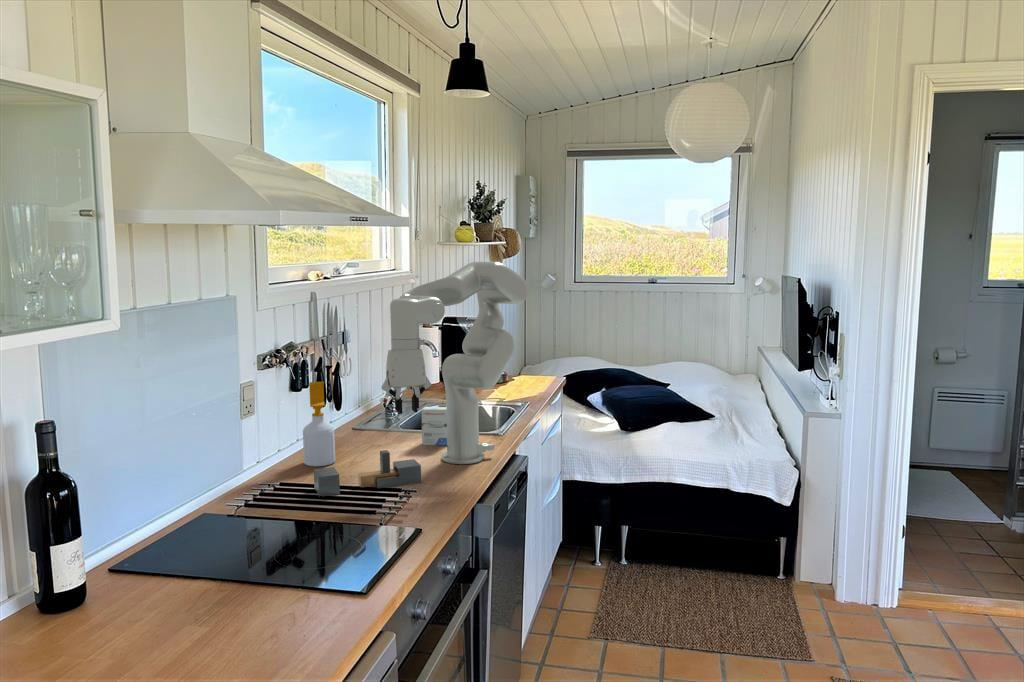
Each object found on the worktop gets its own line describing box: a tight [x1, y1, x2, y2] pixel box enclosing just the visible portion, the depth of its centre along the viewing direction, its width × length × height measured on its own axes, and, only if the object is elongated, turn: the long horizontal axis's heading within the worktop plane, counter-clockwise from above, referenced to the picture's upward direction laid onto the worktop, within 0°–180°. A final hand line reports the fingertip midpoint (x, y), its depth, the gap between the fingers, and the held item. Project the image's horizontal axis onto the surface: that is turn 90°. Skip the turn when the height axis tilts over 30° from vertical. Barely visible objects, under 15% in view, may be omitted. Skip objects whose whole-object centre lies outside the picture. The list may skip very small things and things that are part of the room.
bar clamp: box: [313, 458, 422, 498], centre depth 208 cm, size 27×7×5 cm, turn 113°
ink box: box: [421, 406, 447, 446], centre depth 250 cm, size 8×5×12 cm, turn 84°
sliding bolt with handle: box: [357, 449, 398, 488], centre depth 210 cm, size 16×3×8 cm, turn 113°
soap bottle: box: [302, 381, 336, 468], centre depth 229 cm, size 9×9×25 cm
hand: (407, 411), depth 210 cm, fingers open, 3 cm apart
